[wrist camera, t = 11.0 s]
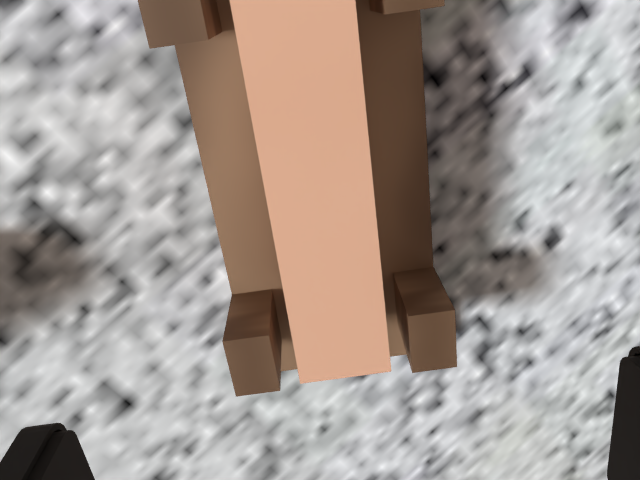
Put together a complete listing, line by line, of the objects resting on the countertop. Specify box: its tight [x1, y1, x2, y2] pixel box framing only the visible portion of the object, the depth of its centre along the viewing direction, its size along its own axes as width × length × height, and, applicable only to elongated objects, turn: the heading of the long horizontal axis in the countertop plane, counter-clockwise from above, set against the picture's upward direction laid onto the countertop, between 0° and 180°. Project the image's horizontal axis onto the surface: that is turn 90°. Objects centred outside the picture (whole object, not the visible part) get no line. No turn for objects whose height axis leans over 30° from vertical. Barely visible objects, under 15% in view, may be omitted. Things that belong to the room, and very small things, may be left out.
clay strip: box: [230, 0, 391, 384], centre depth 23 cm, size 4×16×4 cm, turn 8°
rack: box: [138, 0, 457, 396], centre depth 23 cm, size 10×22×6 cm, turn 7°
